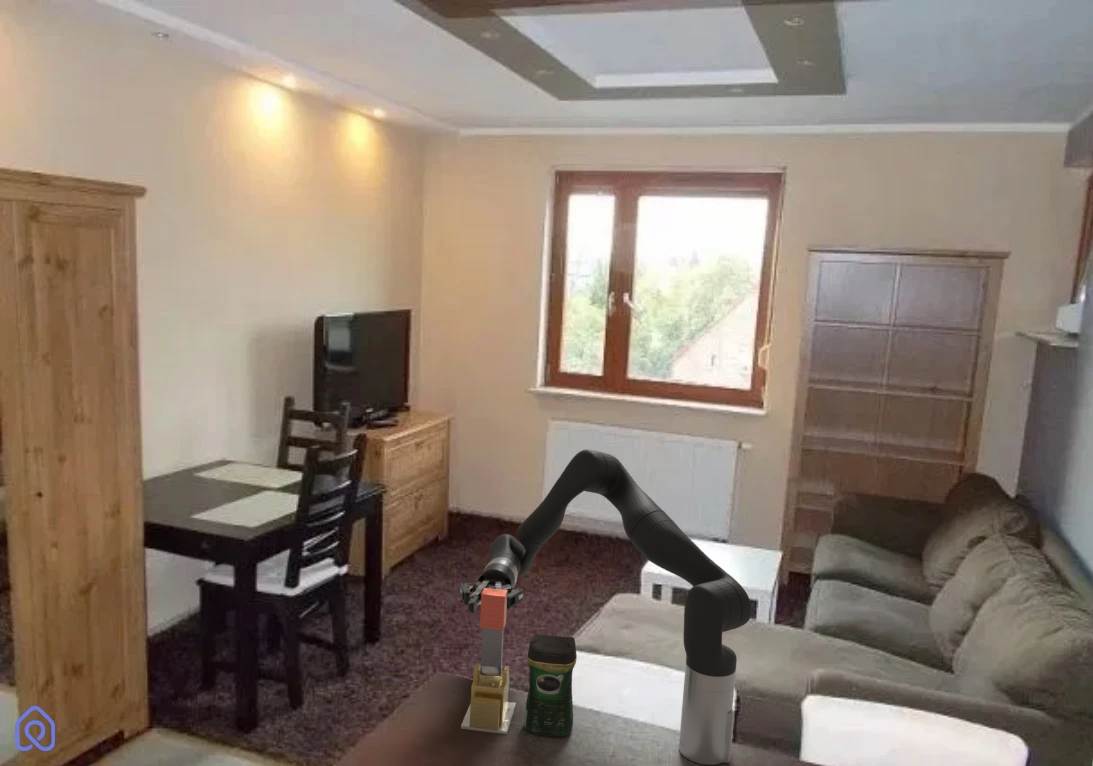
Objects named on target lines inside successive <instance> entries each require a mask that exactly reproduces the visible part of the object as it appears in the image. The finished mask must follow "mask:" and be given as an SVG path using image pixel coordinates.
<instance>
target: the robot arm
mask: <svg viewBox="0 0 1093 766" xmlns="http://www.w3.org/2000/svg"><path fill="white" fill-rule="evenodd" d="M583 492H587V493H591V494H598V495H600V496H603V498H605V499H607V501H608V502H609V503H611V505H613V506H614V507H615V508H616V509H617V511H618V512H619V514H620V516H621V520H622V525H623V529H624V532H625V534H626V537H627V538H628V540H629V541H631V543H632V544H633V545H634V547H635V548H636V549H637V550H638V551H639V552H640V554H641V555H642V556H643V557H644V558H645V559H647V561H649V562H650V563H652V564H654V565H656V566H657V567H659V568H661V569H663V570H665V571H667V572H669V573H671V574H673V575H675V576H677V577H679V578H681V579H683V580H684V581H686V582H687V583H688V584H690V585H691V586H692V587H691V588H690V589H689V590H688V592H687V593H686V594H687V595H686V596H685V597H686V598H685V601H684V609H683V611H684V613H683V648H684V651H685V657H686V658H685V669H684V678H683V679H684V681H683V682H684V683H683V691H682V693H683V694H682V704H681V706H682V707H681V717H680V730H679V737H678V738H679V739H678V740H679V742H678V749H679V752H680V754H681V755H682V756H683V757H684V758H686V759H688V761H689V760H690V761H691V762H694V763H697V764H701V765H707V766H714V765H719V764H724V763H725V764H726V763H727V764H729V763H730V760H731V751H732V737H733V727H734V715H735V714H734V710H733V704H734V695H735V681H736V671H737V661H738V660H737V655H736V652H735V650H733V649H732V648H730V647H729V646H727V645H725V644H723V633H725V632H728V631H732V630H735V629H738V628H741V627H743V626H745V625H746V624H747V623H748V622H749V621H750V619H751V617H752V615H753V614H752V613H753V609H752V608H753V607H752V602H751V599H750V598H749V597H750V596H749V595H748V593H747V592H746V590H745V588H744V587H743V586H742V585H741V584H740V582H738V581H737V580H736V579H735V578H734V577H733V576H732V575H731V574H729V573H728V572H727V571H726V570H724V569H723V568H722V567H721V566H719V565H718V564H717V563H715V561H714V560H713V559H711V558H710V557H709V556H708V555H707V554H706V553H705V552H704V551H703V550H702V549H700V547H699V546H698V545H697V544H696V543H695V542H694V541H693V540H692V539H691V538H690V537H688V535H687V534H686V533H685V532H683V530H682V529H681V528H680V527H679V526H678V525H677V523H675V521H674V520H673V519H672V518H671V517H670V516H669V515H668V514H667V513H666V512H665V510H663V509H662V508H661V507H660V506H659V505H658V504H657V503H656V501H654V500H653V499H652V498H651V497H650V496H649V495H648V494H647V493H646V492H645V491H644V490H643V489H642V488H641V487H640V485H638V484H637V482H636V481H635V479H634V478H633V477H632V476H631V474H630V473H629V471H628V470H627V469H626V468H625V466H624V465H623V463H622V462H621V461H620V460H619V459H618V458H617V457H615V456H614V455H612V454H610V453H607V452H602V451H598V450H595V449H594V450H593V449H583V450H580V451H579V452H577V453H576V454H575V455H574V456H573V457H572V458H571V459H570V461H569V463H568V464H567V465H566V467H565V468H564V470H563V471H562V472H561V474H560V475H559V477H558V479H557V480H556V482H555V483H554V484H553V486H552V487H551V489H550V491H549V492H548V493H547V495H546V496H545V498H544V499H543V500H542V502H541V503H540V504H539V505H538V506H537V507H536V508H535V510H533V511H532V512H531V513H530V515H528V516H527V517H526V518H525V520H523V522H522V523H521V524H520V525H519V526H518V528H517V530H516V535H517V538H518V540H519V541H518V540H517V538H515V537H514V536H512V535H511V534H509V533H503V534H500V535H498V536H497V537H496V538H495V539H494V541H493V542H491V545H490V548H489V550H488V551H489V552H488V559H489V562H488V564H486V566H485V568H484V569H483V571H482V573H481V574H480V576H479V577H478V579H477V582H474V583H473V584H472V585H469V584H467V582H461V583H460V587H459V588H460V591H459V593H460V594H459V595H460V597H461V599H462V602H463V605H467V606H468V607H467V609H468V611H470V613H472V614H475V612H476V610H477V609H478V606H479V605H480V606H481V594H482V592H483V589H484V588H490V589H500V590H507V610H508V609H509V610H510V609H512V608H513V607H515V606H517V605H518V604H520V603H522V602H523V597H524V595H523V594H524V589H523V588H517V589H514V588H515V586H516V584H517V580H518V577H522V576H524V575H526V573H527V572H528V571H529V569H531V566H532V564H533V562H534V560H535V558H536V556H537V554H538V552H539V551H540V550H541V548H542V547H543V546H544V544H545V543H547V542H548V541H549V539H551V537H553V536H554V535H555V533H557V531H558V530H559V529H560V528H561V525H562V523H563V522H564V518H565V514H566V511H567V507H568V505H569V504H570V503H571V502H572V501H573V499H575V498H576V497H577V496H579V495H580V494H581V493H583Z"/></svg>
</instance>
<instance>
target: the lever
mask: <svg viewBox="0 0 1093 766" xmlns="http://www.w3.org/2000/svg"><path fill="white" fill-rule="evenodd" d="M507 610H508V609H507V590H500V589H490V588H484V589H483V592H482V594H481V605H480V616H479V617H480V619H479V620H480V622H479V628H480V629H481V632H482V633H481V652H480V653H481V655H480V656H481V657H480V675H485V676H494V677H501V675H502V673H503V649H504V630H505V626H506V625H507Z"/></svg>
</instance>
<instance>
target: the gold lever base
mask: <svg viewBox="0 0 1093 766" xmlns="http://www.w3.org/2000/svg"><path fill="white" fill-rule="evenodd" d="M473 667H474V668H473V673H472V674H473V676H472V679H473V681H472V684H471V689H470V690H471V691H470V694H471V695H470V703H469V706H468V708H467V711H466V713H465V715H464V717H463V719H462V720H463V721H462V723H461V725H460V729H461V730H469V731H470V730H471V731H477V732H487V733H492V734H493V733H494V734H500V735H501V734H503V735H508V731H509V728H510V725H511V722H512V719H513V715H514V712H515V709H516V705H517V702H511V701H509V690H510V689H509V688H510V666H508V665H507V666H504V667H503V668H504V669H502V675H501V677H494V676H485V675H480V669H481V662H480V663H475V665H474V666H473Z"/></svg>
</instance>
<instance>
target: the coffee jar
mask: <svg viewBox="0 0 1093 766" xmlns="http://www.w3.org/2000/svg"><path fill="white" fill-rule="evenodd" d="M576 646H577V645H576V640H575V637H573V636H568V637H567V636H561V635H560V636H559V635H549V634H539V633H534V634H533V635H532V637H531V639H530V642H529V645H528V651H527V654H526V655H527V656H526V660H527V664H528V667H529V681H528V689H527V697H526V703H525V709H524V719H523V721H524V722H523V726H524V728H525V730H526V731H527V732H529V733H531V734H533V735H538V736H545V737H556V738H557V737H560V738H561V737H565V736H567V735H568V734H570V733H571V731H572V729H573V726H574V707H573V706H574V704H573V671H574V668H575V665H576V663H577V659H578V658H577V657H578V656H577V647H576Z"/></svg>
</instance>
